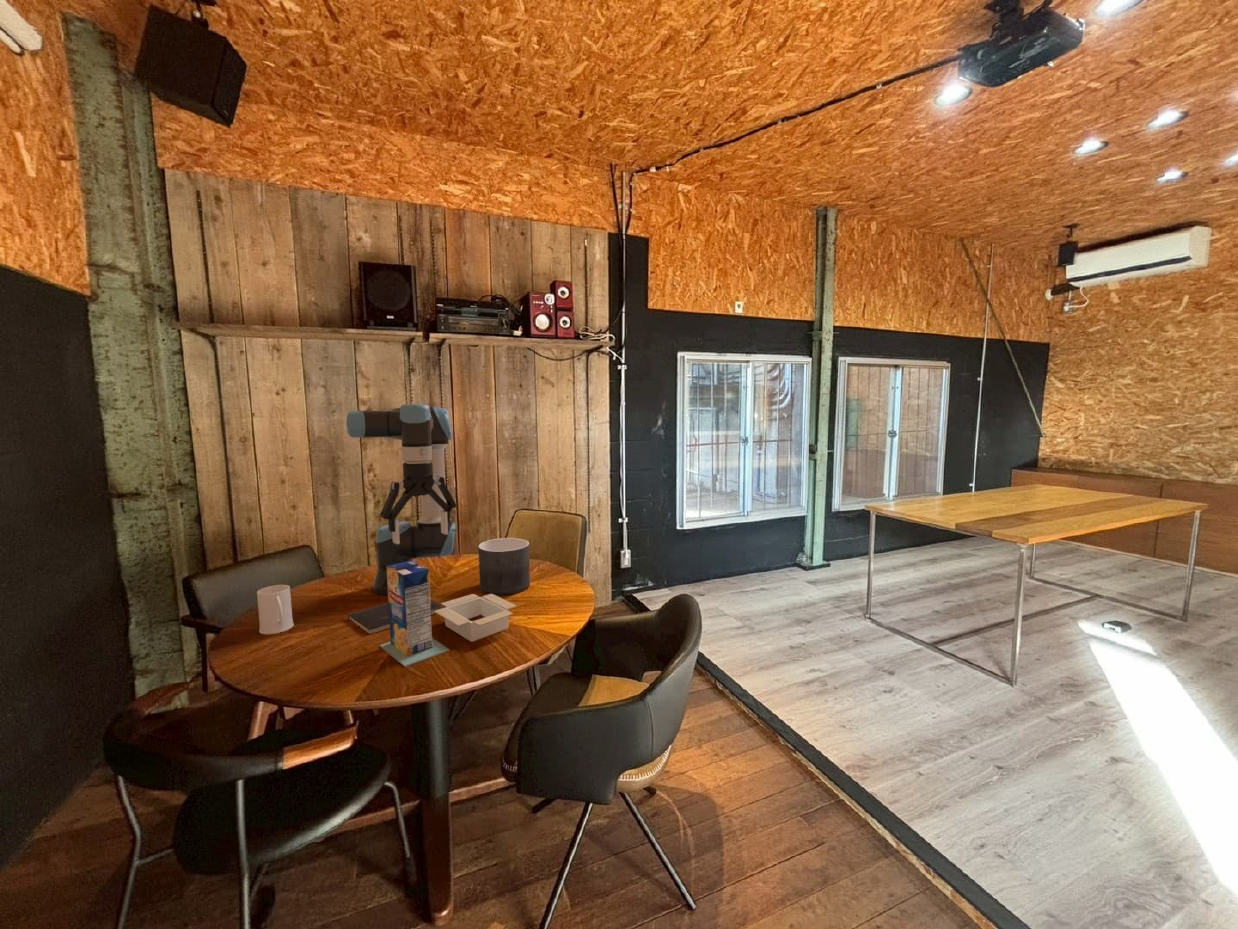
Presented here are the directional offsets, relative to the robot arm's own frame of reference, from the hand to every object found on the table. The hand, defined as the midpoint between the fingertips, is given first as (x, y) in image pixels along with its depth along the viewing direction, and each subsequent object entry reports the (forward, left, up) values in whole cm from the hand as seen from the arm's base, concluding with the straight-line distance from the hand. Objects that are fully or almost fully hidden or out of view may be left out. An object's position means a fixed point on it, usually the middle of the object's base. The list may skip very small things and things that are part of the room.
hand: (421, 538), depth 142 cm
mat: (+3, -5, -29) cm, 30 cm away
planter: (-20, +39, -30) cm, 53 cm away
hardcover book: (-23, +1, -30) cm, 38 cm away
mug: (-37, -28, -30) cm, 55 cm away
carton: (+3, +14, -29) cm, 33 cm away
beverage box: (+1, -5, -29) cm, 29 cm away
